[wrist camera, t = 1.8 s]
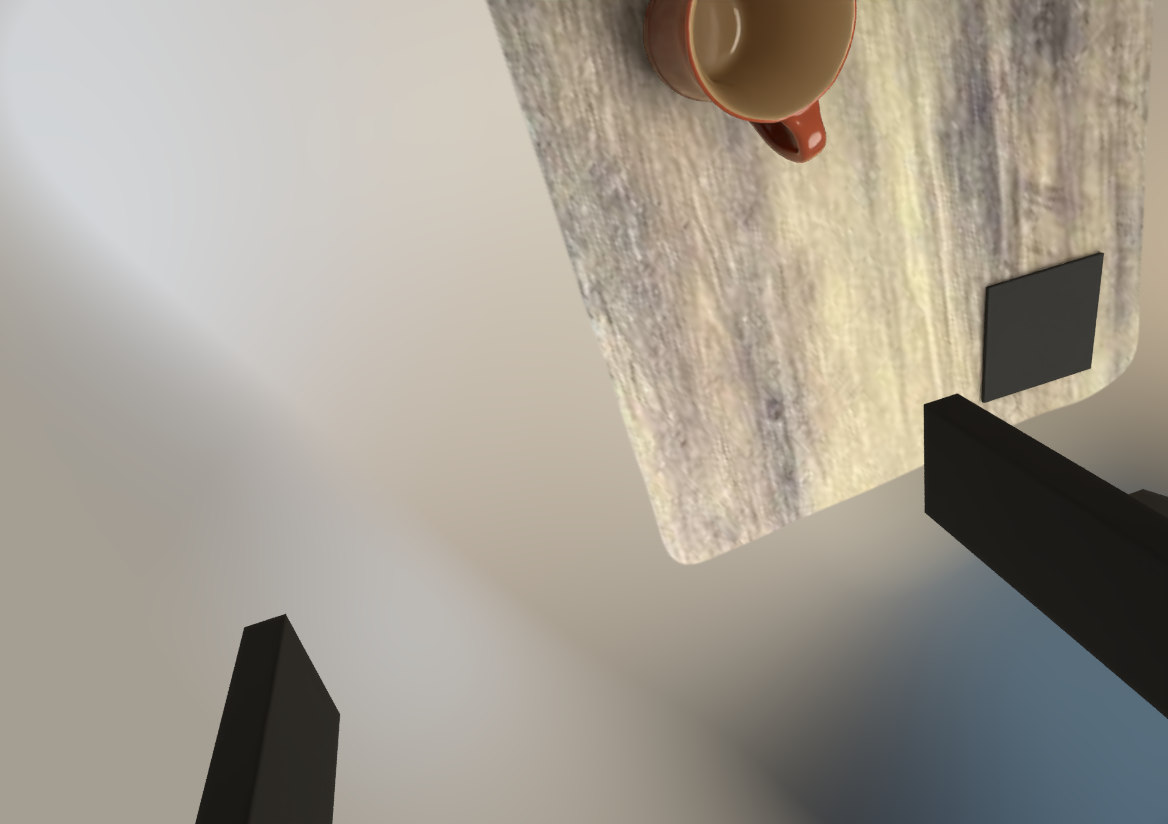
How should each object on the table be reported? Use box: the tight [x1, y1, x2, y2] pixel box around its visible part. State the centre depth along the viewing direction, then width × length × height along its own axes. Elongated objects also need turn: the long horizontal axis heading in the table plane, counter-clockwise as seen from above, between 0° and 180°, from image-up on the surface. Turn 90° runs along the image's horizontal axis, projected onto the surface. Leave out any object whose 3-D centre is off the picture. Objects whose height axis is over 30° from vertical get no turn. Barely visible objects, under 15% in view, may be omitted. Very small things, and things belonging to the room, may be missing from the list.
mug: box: [643, 0, 857, 163], centre depth 41 cm, size 12×9×10 cm
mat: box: [982, 253, 1104, 403], centre depth 60 cm, size 10×10×1 cm
